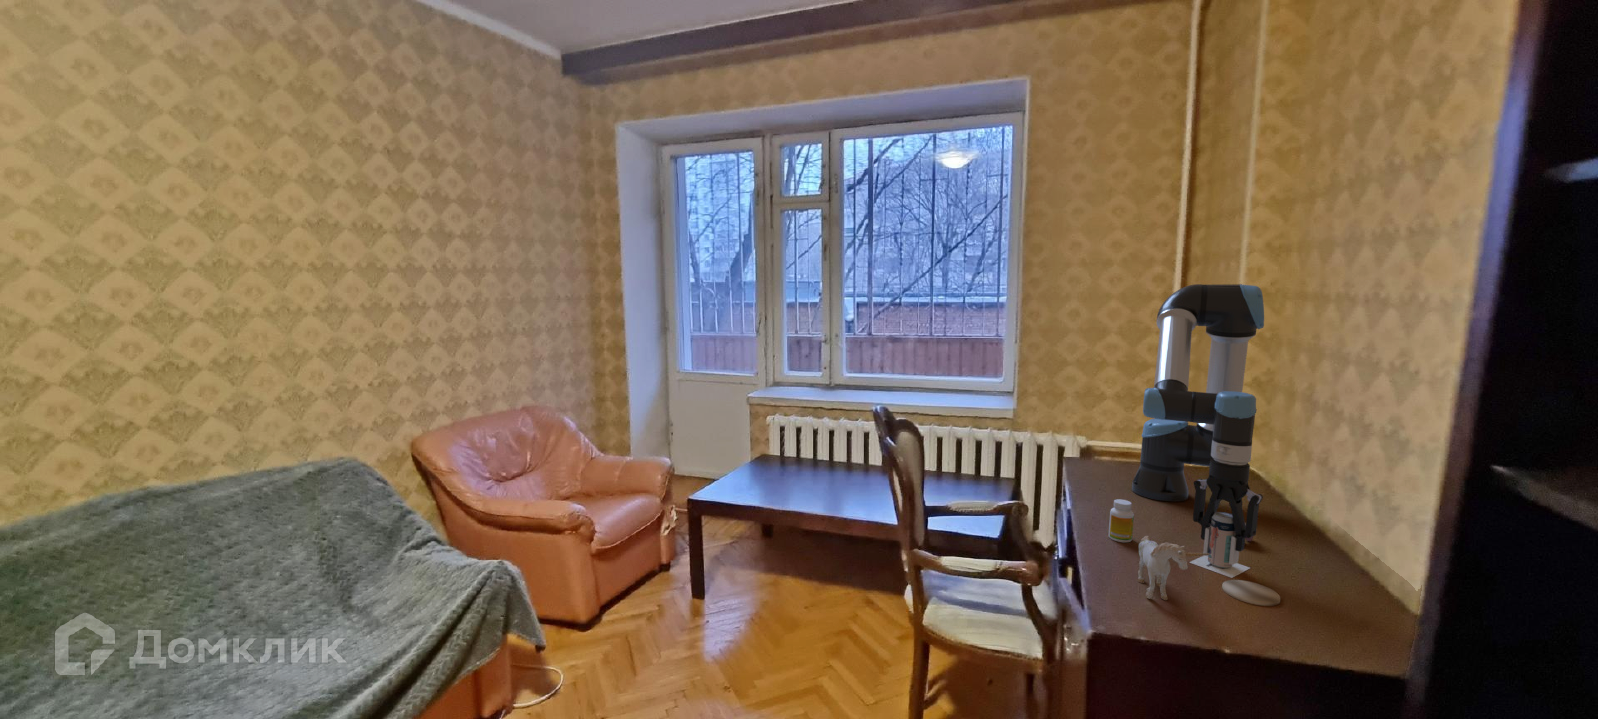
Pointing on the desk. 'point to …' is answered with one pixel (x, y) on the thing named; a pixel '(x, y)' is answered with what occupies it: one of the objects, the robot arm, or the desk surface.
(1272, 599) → the cork coaster
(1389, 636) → the desk surface
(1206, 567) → the tile
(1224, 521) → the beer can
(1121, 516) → the supplement bottle
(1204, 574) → the desk surface
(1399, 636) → the desk surface
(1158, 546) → the unicorn figurine
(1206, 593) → the desk surface
